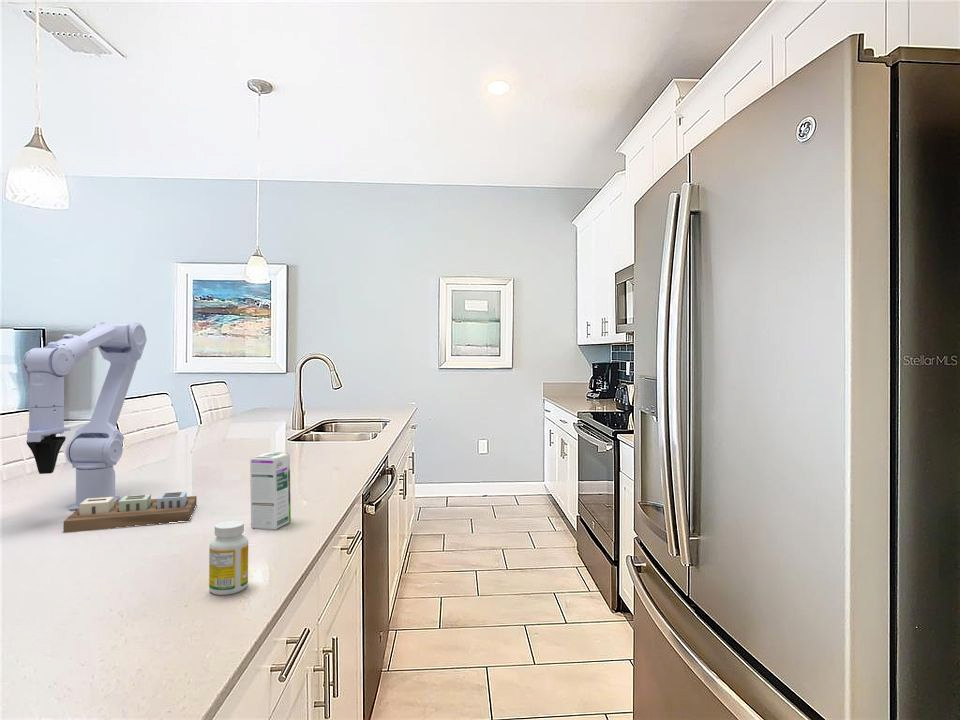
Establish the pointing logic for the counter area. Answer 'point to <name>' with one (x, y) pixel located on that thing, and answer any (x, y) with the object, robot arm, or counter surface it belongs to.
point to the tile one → (96, 505)
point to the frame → (129, 517)
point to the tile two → (135, 503)
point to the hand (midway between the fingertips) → (46, 473)
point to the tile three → (172, 500)
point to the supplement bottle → (228, 559)
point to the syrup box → (270, 490)
